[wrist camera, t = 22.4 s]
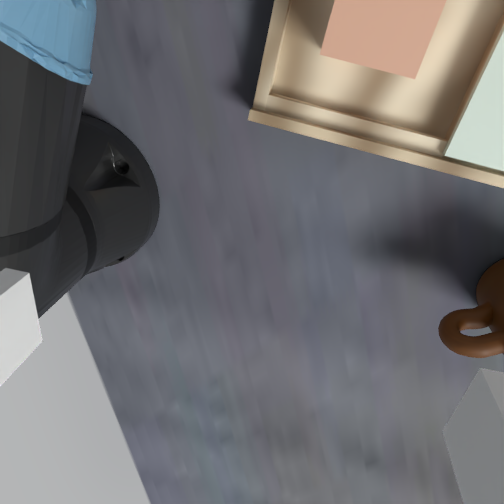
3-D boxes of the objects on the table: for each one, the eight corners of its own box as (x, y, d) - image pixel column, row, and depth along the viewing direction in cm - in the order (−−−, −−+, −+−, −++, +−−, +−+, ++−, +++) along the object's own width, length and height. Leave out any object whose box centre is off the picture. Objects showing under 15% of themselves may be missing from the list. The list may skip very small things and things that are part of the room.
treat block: (324, 51, 29) (319, 54, 22) (349, -38, 26) (353, -67, 19) (396, 70, 28) (414, 79, 22) (429, -19, 26) (463, -41, 19)
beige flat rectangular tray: (255, 113, 33) (247, 120, 30) (314, -165, 24) (310, -191, 21) (617, 209, 31) (645, 226, 28) (819, -56, 22) (887, -69, 19)
